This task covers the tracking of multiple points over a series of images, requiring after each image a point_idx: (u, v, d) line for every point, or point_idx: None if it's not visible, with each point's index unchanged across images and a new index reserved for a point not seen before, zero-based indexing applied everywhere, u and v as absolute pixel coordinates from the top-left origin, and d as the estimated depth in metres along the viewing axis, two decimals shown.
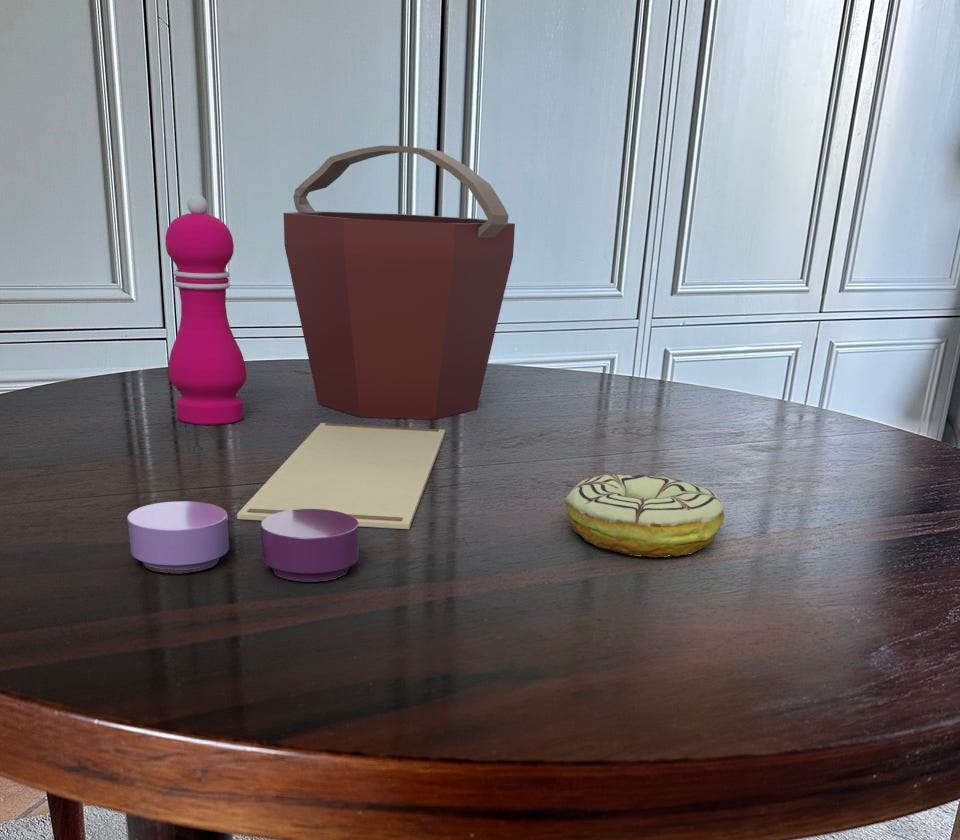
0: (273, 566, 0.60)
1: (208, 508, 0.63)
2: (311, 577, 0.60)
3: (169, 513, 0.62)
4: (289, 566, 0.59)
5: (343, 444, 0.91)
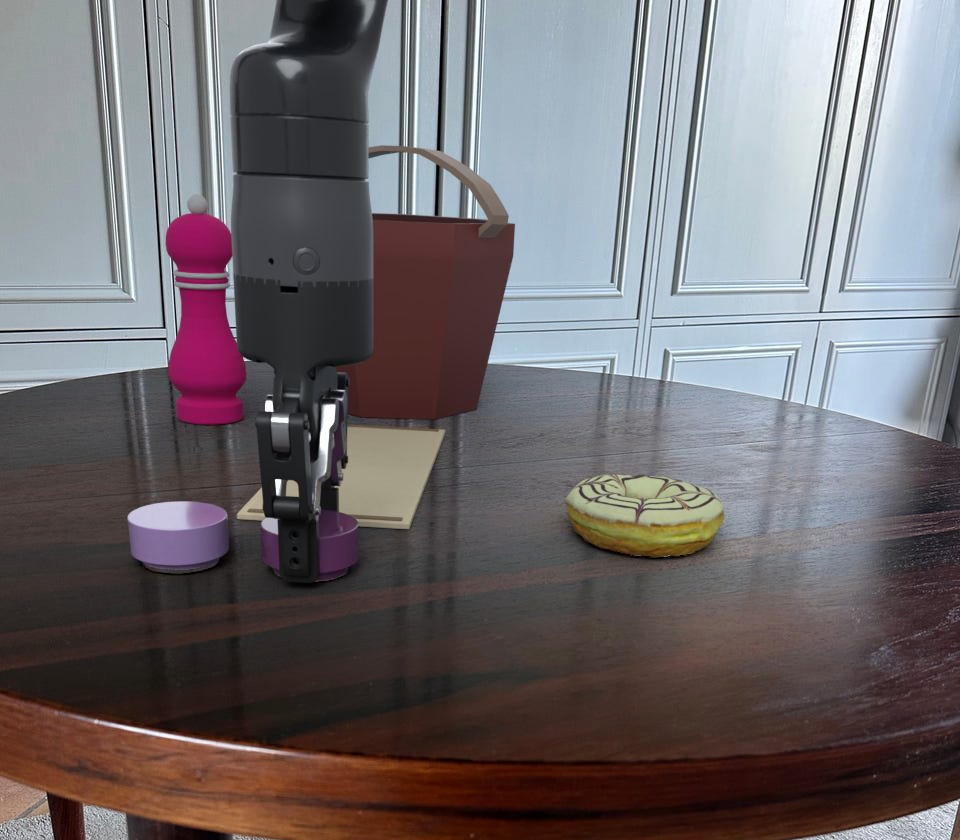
0: (273, 566, 0.60)
1: (208, 508, 0.63)
2: None
3: (169, 513, 0.62)
4: None
5: None
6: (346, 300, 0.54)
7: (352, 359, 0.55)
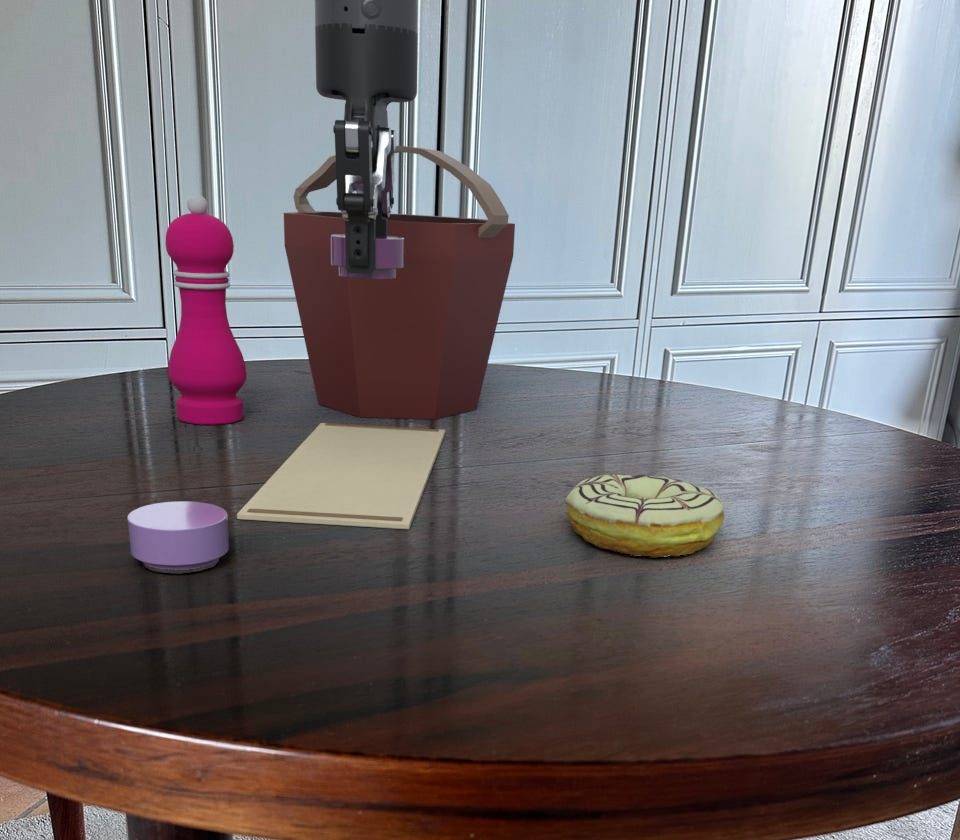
0: (340, 265, 0.80)
1: (208, 508, 0.63)
2: (369, 274, 0.80)
3: (169, 513, 0.62)
4: None
5: (343, 444, 0.91)
6: (399, 42, 0.73)
7: (402, 92, 0.75)
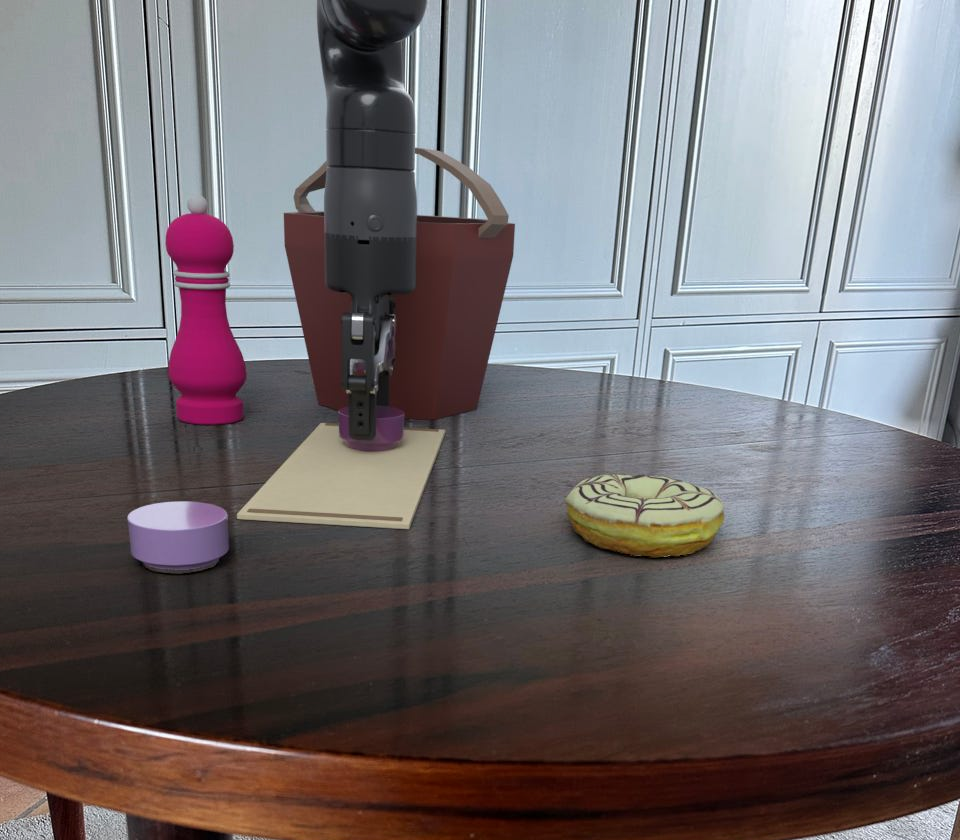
0: (347, 439, 0.88)
1: (208, 508, 0.63)
2: (373, 447, 0.89)
3: (169, 513, 0.62)
4: None
5: (343, 444, 0.91)
6: (400, 249, 0.82)
7: (402, 290, 0.83)
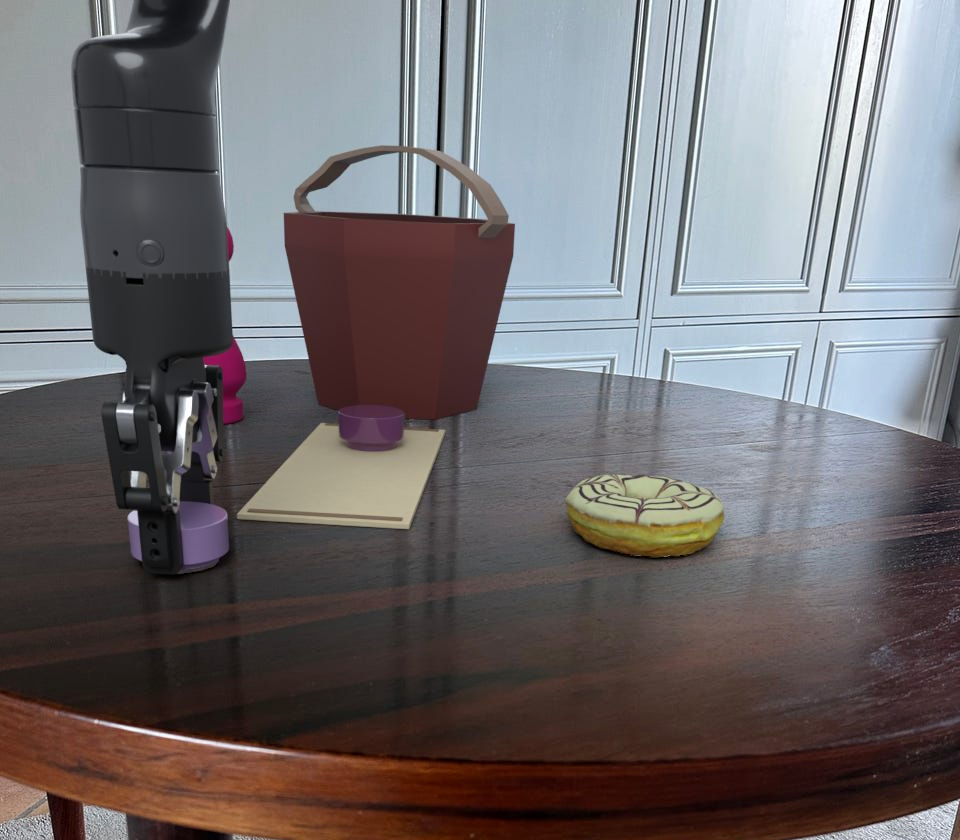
0: (347, 439, 0.88)
1: (208, 508, 0.63)
2: (373, 447, 0.89)
3: None
4: (359, 438, 0.88)
5: (343, 444, 0.91)
6: (195, 292, 0.54)
7: (205, 351, 0.55)
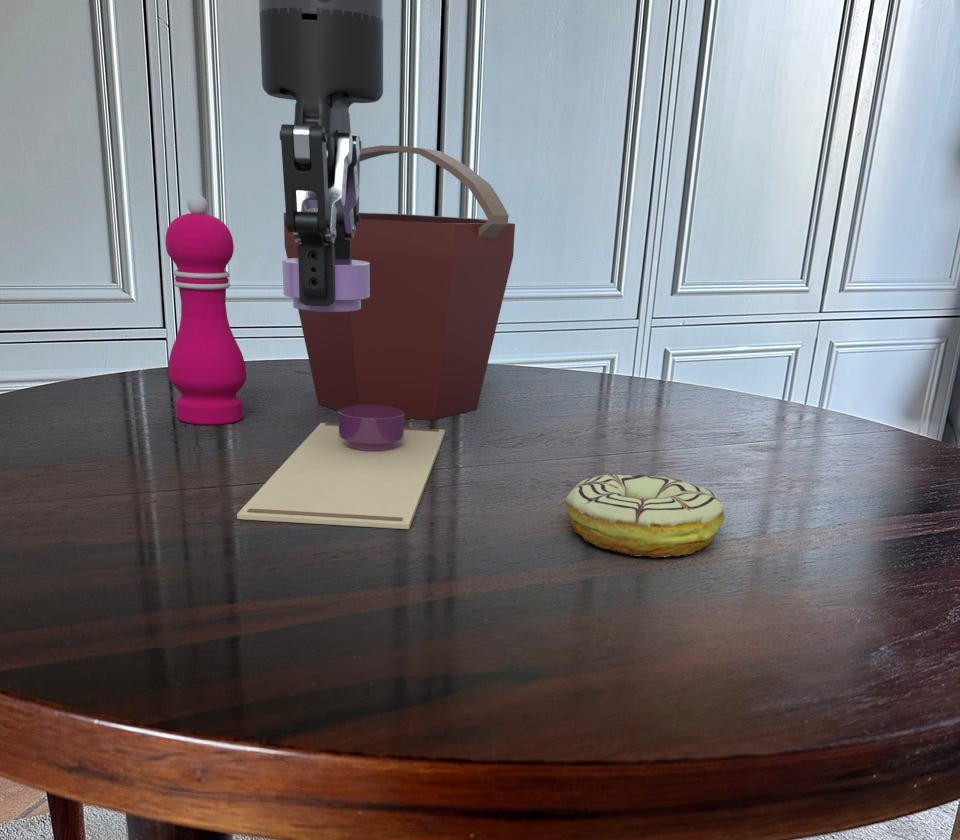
0: (347, 439, 0.88)
1: (351, 260, 0.70)
2: (373, 447, 0.89)
3: None
4: (359, 438, 0.88)
5: (343, 444, 0.91)
6: (360, 31, 0.61)
7: (364, 90, 0.62)
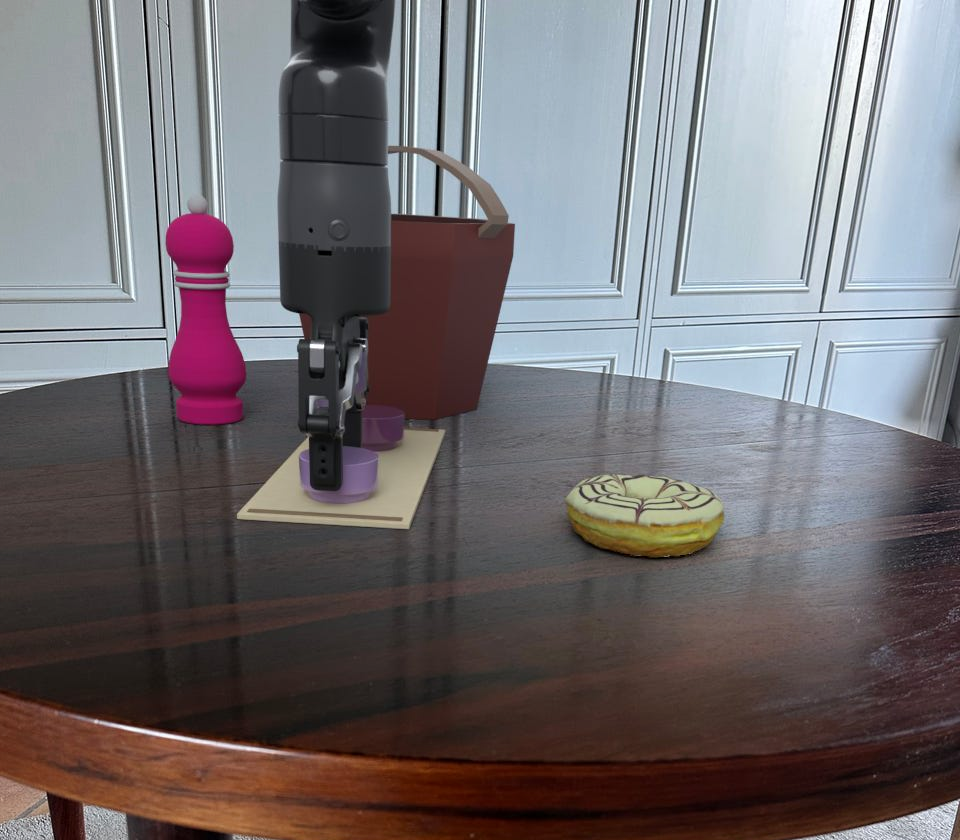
0: None
1: (361, 451, 0.76)
2: (373, 447, 0.89)
3: None
4: None
5: None
6: (370, 262, 0.67)
7: (373, 311, 0.68)
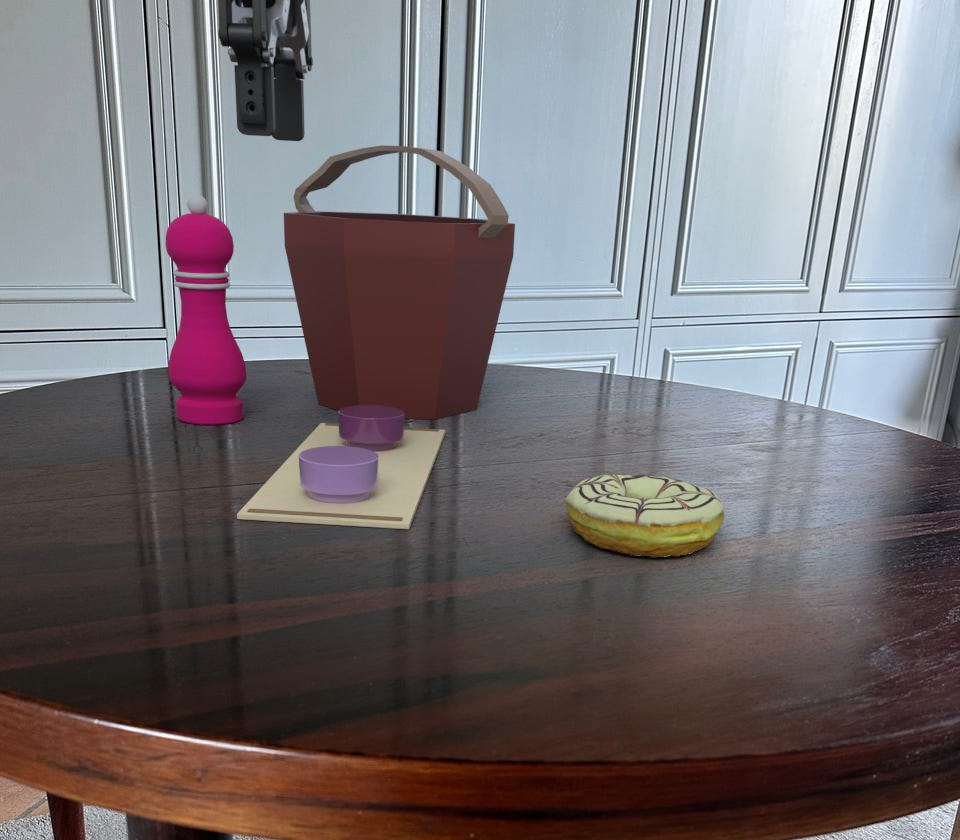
0: (347, 439, 0.88)
1: (361, 451, 0.76)
2: (373, 447, 0.89)
3: (332, 454, 0.75)
4: (359, 438, 0.88)
5: (343, 444, 0.91)
6: None
7: None
